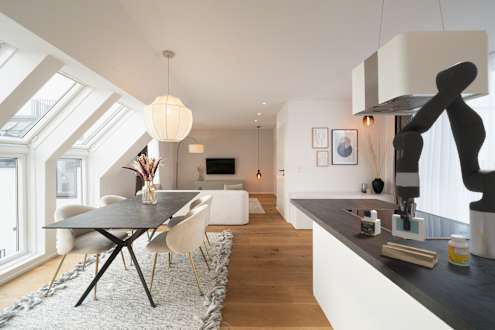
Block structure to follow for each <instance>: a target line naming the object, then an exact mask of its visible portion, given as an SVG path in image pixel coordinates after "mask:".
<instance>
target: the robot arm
mask: <svg viewBox="0 0 495 330" xmlns="http://www.w3.org/2000/svg"><path fill="white" fill-rule="evenodd" d="M478 72H479V71H478V68H477V65H476V64H475V63H474V62H473V61H468V60H465V61H464V60H463V61H460V62H458V63H455V64H453V65H451V66H449V67H445V68H444V69H442V70H440V71H439V72H438V73H437V74H436V76H435V85H436V89H437V91H438V92H437V93H436V94H434V96H432V97H431V98H429V99H428V100H427V102H425V103H424V104H423V105H422V106H420V108H419V109H418V110H417V111H416V113H415V114H414V115H413V117H412V118H411V119H410V121H409V122H408V123H407V124H406V125H405V126H404V127H402V128H401V129H400V130H399V131H398V132H397V133H396V134H395V136H394V137H393V139H392V147H393V148H394V149H395V150H396V151H398V152H402V155H401V157H398V158H397V160H396V174H395V175H396V176H395V196H396V197H398V198H401V201H400V202H399V205H398V206H397V207H398V212H399V215H400V218H401V219H402V220H403V230H406V231H410V220H411V217H415V216H416V211H417V203H416V202H415V199H418V198H420V197H421V181H420V180H421V179H420V159H421V155H422V151H423V149H424V138H423V136H422V135H423V134H425V133H427V132H428V131H429V130H430V129H431V128H432V127H433V125H435V122H437V120H438V119H439V117H440V116H441V115H442V114H443V113H444V111H445V112H446V115H447V118H448V122H449V125H450V129H451V134H452V137H453V141H454V143H455V146H456V147H455V148H456V151H457V155H458V159H459V166H460V167H459V168H460V172H461V180H462V183H463V184H462V185H463V186H464V188H465V189H466V190H467V191H469V192H471V193H472V192H473V193H481V194H482V197H481V198H480V199H478V200H474V201H471V202H469V207H468V208H469V209H468V211H469V214H468V215H469V252H470V254H472V255H475V256H476V257H479V258H480V257H481V258H485V259H491V260H495V169H481V167H480V163H479V154H480V151H481V149H482V147H483V145H484V143H485V141H486V137H487V132H486V129H485V124H484V120H483V118H482V116H481V115H480V114H479V113H478V112H477V111H476V110H475V109H474V108H472V107H471V106H470V105H469V104H467V102H466V101H465V100H464V98H463V96H462V93H463V92H464V91H465V90H466V89H467V88H468V87H469V86H470V85H471V84H473V82H474V81H475V80H476V78H477V77H478Z"/></svg>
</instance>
